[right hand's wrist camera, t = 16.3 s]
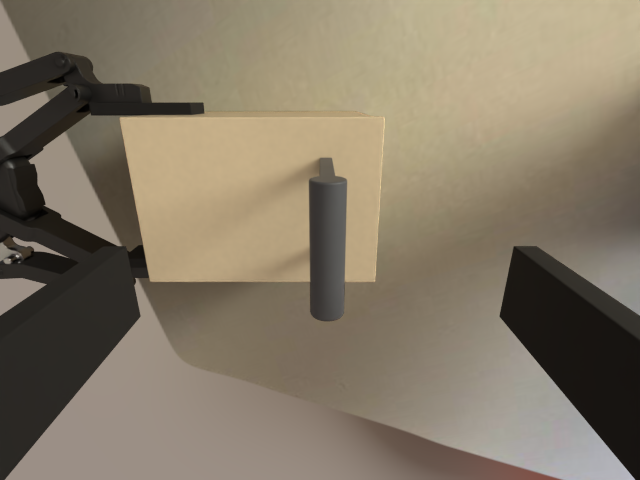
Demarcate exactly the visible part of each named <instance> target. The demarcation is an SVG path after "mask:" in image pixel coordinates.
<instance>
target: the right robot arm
mask: <svg viewBox="0 0 640 480" xmlns="http://www.w3.org/2000/svg"><path fill="white" fill-rule="evenodd" d="M139 318H140V312H139V307H138V302H137V297H136V292H135V287H134V282H133V277H132V273H131V268H130V263H129V258H128V253H127V248H126V246H103V247H102V248H100V249H99V250H97V251H96V252H94V253H93V254H91V255H90V256H89V257H87V258H86V259H84V260H83V261H81V262H80V263H78V264H77V265H75V266H74V267H72V268H71V269H69V270H68V271H66V272H65V273H63V274H62V275H60V276H59V277H57V278H56V279H54V280H53V281H51V282H50V283H48V284H47V285H45V286H44V287H42V288H41V289H39V290H38V291H36V292H35V293H34V294H32V295H31V296H29V297H28V298H26V299H25V300H23V301H22V302H20V303H19V304H17V305H16V306H14V307H13V308H11V309H10V310H8V311H7V312H5V313H4V314H2V315H1V316H0V480H5V479H6V477H7V476H8V475H9V474H10V472H11V471H12V470H13V469H14V468H15V466H16V465H17V464H18V463H19V462H20V460H21V459H22V458H23V457H24V456H25V454H26V453H27V452H28V451H29V450H30V448H31V447H32V446H33V445H34V444H35V442H36V441H37V440H38V439H39V438H40V436H41V435H42V434H43V433H44V432H45V430H46V429H47V428H48V427H49V426H50V424H51V423H52V422H53V421H54V420H55V418H56V417H57V416H58V415H59V414H60V412H61V411H62V410H63V409H64V408H65V406H66V405H67V404H68V403H69V402H70V400H71V399H72V398H73V397H74V396H75V394H76V393H77V392H78V391H79V390H80V388H81V387H82V386H83V385H84V384H85V382H86V381H87V380H88V379H89V378H90V376H91V375H92V374H93V373H94V372H95V370H96V369H97V368H98V367H99V366H100V364H101V363H102V362H103V361H104V360H105V358H106V357H107V356H108V355H109V354H110V352H111V351H112V350H113V349H114V348H115V346H116V345H117V344H118V343H119V341H120V340H121V339H122V338H123V337H124V336H125V334H126V333H127V332H128V331H129V330H130V328H131V327H132V326H133V325H134V324H135V322H136V321H137V320H138V319H139ZM500 318H501V319H502V320H503V321H504V322H505V324H506V325H507V326H508V327H509V328H510V330H511V331H512V332H513V333H514V334H515V336H516V337H517V338H518V339H519V340H520V342H521V343H522V344H523V345H524V346H525V348H526V349H527V350H528V351H529V352H530V354H531V355H532V356H533V357H534V358H535V360H536V361H537V362H538V363H539V364H540V366H541V367H542V368H543V369H544V370H545V372H546V373H547V374H548V375H549V376H550V378H551V379H552V380H553V381H554V382H555V384H556V385H557V386H558V387H559V388H560V390H561V391H562V392H563V393H564V394H565V396H566V397H567V398H568V399H569V400H570V402H571V403H572V404H573V405H574V406H575V408H576V409H577V410H578V411H579V412H580V414H581V415H582V416H583V417H584V418H585V420H586V421H587V422H588V423H589V424H590V426H591V427H592V428H593V429H594V430H595V432H596V433H597V434H598V435H599V436H600V438H601V439H602V440H603V441H604V442H605V444H606V445H607V446H608V447H609V448H610V450H611V451H612V452H613V453H614V454H615V456H616V457H617V458H618V459H619V460H620V462H621V463H622V464H623V465H624V466H625V468H626V469H627V470H628V471H629V473H630V474H631V475H632V476H633V477H634V479H635V480H640V316H639V315H638V314H636V313H635V312H633V311H632V310H630V309H629V308H627V307H626V306H624V305H623V304H621V303H620V302H618V301H617V300H615V299H614V298H612V297H611V296H609V295H608V294H606V293H605V292H604V291H602V290H601V289H599V288H598V287H596V286H595V285H593V284H592V283H590V282H589V281H587V280H586V279H584V278H583V277H581V276H580V275H578V274H577V273H575V272H574V271H572V270H571V269H569V268H568V267H566V266H565V265H563V264H562V263H560V262H559V261H557V260H556V259H554V258H553V257H551V256H550V255H549V254H547V253H546V252H544V251H543V250H541V249H540V248H538V247H537V246H514V248H513V253H512V258H511V263H510V268H509V273H508V277H507V282H506V287H505V292H504V297H503V302H502V307H501V312H500Z"/></svg>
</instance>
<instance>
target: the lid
mask: <svg viewBox="0 0 640 480" xmlns="http://www.w3.org/2000/svg"><path fill="white" fill-rule="evenodd" d="M119 120H120V125H121V130H122V136H123V141H124V146H125V152H126V157H127V162H128V168H129V173H130V178H131V184H132V189H133V194H134V199H135V205H136V210H137V215H138V221H139V226H140V231H141V237H142V242H143V247H144V253H145V258H146V263H147V269H148V274H149V279H150V282H310V312H311V315H312V316H313V317H314V318H315V319H318V320H321V321H334V320H337V319H339V318H341V317H342V315H343V314H344V290H345V282H375V276H376V259H377V242H378V225H379V208H380V191H381V174H382V157H383V140H384V123H385V118H384V117H120V118H119Z"/></svg>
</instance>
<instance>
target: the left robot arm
mask: <svg viewBox="0 0 640 480" xmlns="http://www.w3.org/2000/svg"><path fill="white" fill-rule="evenodd" d="M92 71H93V65H92V62H91V61H90V60H89V59H88V58H87V57H84V56H79V55H73V54H68V53H63V52H55V53H52V54H49V55H46V56H44V57H41V58H38V59H36V60H33V61H30V62H28V63H25V64H22V65H19V66H17V67H14V68H11V69H9V70H6V71H3V72H0V106H3V105H6V104H10V103H13V102H15V101H18V100H21V99H24V98H27V97H29V96H32V95H35V94H38V93H40V92H43V91H46V90H49V89H52V88H54V87H57V86H60V85H64V86H68V87H67V88H66V89H65V90H63V91H62V92H61V93H59V94H58V95H57V96H55V97H54V98H53V99H51V100H50V101H49V102H48V103H46V104H45V105H44V106H42V107H41V108H40V109H38V110H37V111H36V112H34V113H33V114H32V115H30V116H29V117H28V118H26V119H25V120H24V121H22V122H21V123H20V124H18V125H17V126H16V127H14V128H13V129H12V130H10V131H9V132H8V133H6V134H5V135H4V136H2V137H0V279H8V278H25V279H29V280H32V281H36V282H40V283H45V284H48V283H50V282H51V281H53V280H54V279H56V278H57V277H59V276H60V275H62V274H63V273H65V272H66V271H68V270H69V269H71V268H72V267H74V266H75V265H77V264H78V263H80V262H81V261H83V260H84V259H86V258H87V257H89V256H90V255H91V254H93V253H94V252H96V251H97V250H99V249H100V248H102V247H103V246H116V245H114V244H112V243H110V242H108V241H106V240H104V239H102V238H100V237H98V236H96V235H94V234H92V233H90V232H88V231H86V230H84V229H82V228H80V227H78V226H76V225H74V224H72V223H70V222H68V221H66V220H64V219H62V218H61V215H60V214H59V213H57V212H55V211H53V210H51V209H49V208H47V207H45V206H43V205H45V200H44V197H43V194H42V192H41V190H40V189H39V187H38V185H37V172H36V168H35V165H34V164H30V162H29V161H28V160H30V159H31V158H32V157H34V156H35V155H37V154H38V153H39V152H41V151H42V150H43V147H44V146H45V145H47V144H48V143H50V142H51V141H52V140H54V139H55V138H56V137H58V136H59V135H61V134H62V133H63V132H65V131H66V130H68V129H69V128H70V127H72V126H73V125H74V124H76V123H77V122H79V121H80V120H81V119H83V118H84V117H85V116H87V115H88V114H90V113H91V115H196V114H204V105H203V103H152V101H151V95H150V88H149V87H146V86H144V85H140V84H103V83H101V82H99V81H98V80H97V79H96V77H95V75H94V74H93V72H92ZM13 237H16V238H18V239H20V240H23V241H28V242H29V241H30V242H31V241H33V242H37V243H39V244H41V245H43V246H45V247H47V248H49V249H52V250H54V251H56V252H58V253H60V254H62V255H64V256H66V257H68V258H66V257H62V256H59V255H55V254H51V253H46V252H34V249H33V248H32V247H30V246H28V247H24V246H19V245H17V244H16V243H15V242H14V241H13V239H12V238H13ZM127 253H128V258H129V263H130V268H131V273H132V277H133V282H134V285H135V283H136V279H135V278H149V274H148V269H147V263H146V258H145V253H144V247H143V245H139V246H137V247H136V248H135V249H133V250H132V251H131V252H128V251H127Z"/></svg>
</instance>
